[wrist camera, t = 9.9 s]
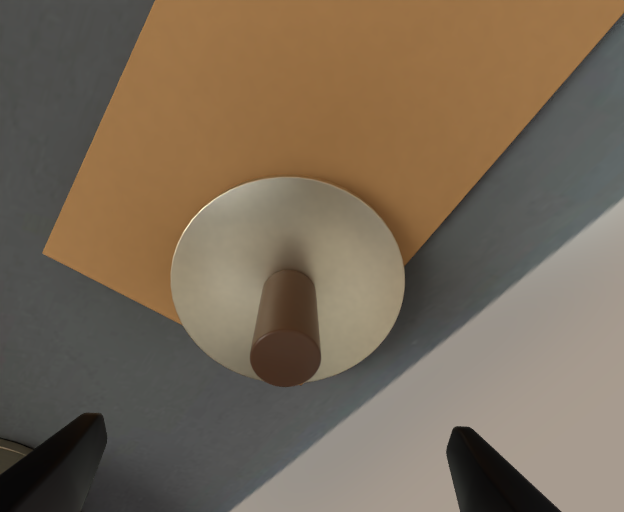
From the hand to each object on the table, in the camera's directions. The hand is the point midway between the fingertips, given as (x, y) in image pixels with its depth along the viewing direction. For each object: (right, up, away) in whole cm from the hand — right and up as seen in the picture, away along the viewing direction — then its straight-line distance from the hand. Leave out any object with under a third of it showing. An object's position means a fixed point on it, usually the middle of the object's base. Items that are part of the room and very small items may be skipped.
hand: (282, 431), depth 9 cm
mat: (+1, +9, +6) cm, 11 cm away
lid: (0, +3, +7) cm, 8 cm away
